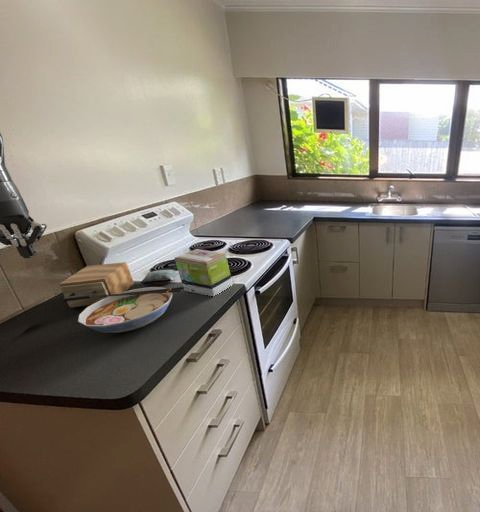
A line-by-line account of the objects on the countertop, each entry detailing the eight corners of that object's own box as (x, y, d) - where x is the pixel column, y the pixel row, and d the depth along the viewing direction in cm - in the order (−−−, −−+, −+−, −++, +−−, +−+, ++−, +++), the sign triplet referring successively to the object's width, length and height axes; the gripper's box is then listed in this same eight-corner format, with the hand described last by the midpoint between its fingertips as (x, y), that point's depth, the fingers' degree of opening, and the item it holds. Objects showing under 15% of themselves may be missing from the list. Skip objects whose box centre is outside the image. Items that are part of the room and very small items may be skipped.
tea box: (183, 292, 112) (172, 257, 106) (205, 280, 120) (196, 248, 115) (213, 297, 107) (204, 261, 102) (234, 285, 116) (226, 251, 111)
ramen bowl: (60, 351, 80) (47, 327, 77) (117, 307, 101) (109, 287, 98) (159, 342, 84) (150, 319, 81) (194, 302, 105) (188, 282, 102)
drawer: (103, 308, 99) (94, 288, 96) (61, 313, 96) (51, 293, 93) (129, 284, 116) (122, 266, 113) (94, 288, 113) (86, 270, 110)
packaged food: (151, 278, 122) (148, 268, 120) (182, 275, 125) (179, 265, 123) (140, 288, 114) (136, 277, 112) (174, 285, 117) (170, 274, 115)
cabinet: (114, 302, 105) (104, 278, 101) (70, 307, 101) (59, 283, 97) (134, 283, 118) (126, 262, 115) (96, 287, 115) (87, 265, 111)
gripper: (42, 194, 83) (67, 250, 89) (-20, 197, 79) (11, 255, 86) (21, 199, 76) (49, 259, 83) (-48, 202, 73) (-12, 265, 79)
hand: (30, 257), depth 84 cm, fingers closed
